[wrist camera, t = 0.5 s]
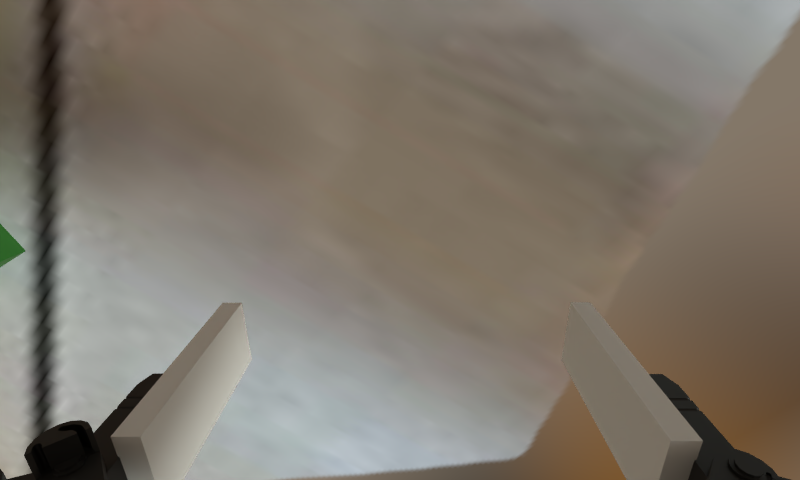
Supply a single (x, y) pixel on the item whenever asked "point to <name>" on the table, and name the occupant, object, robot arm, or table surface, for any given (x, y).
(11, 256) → the hardback book
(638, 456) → the robot arm
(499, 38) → the table surface
